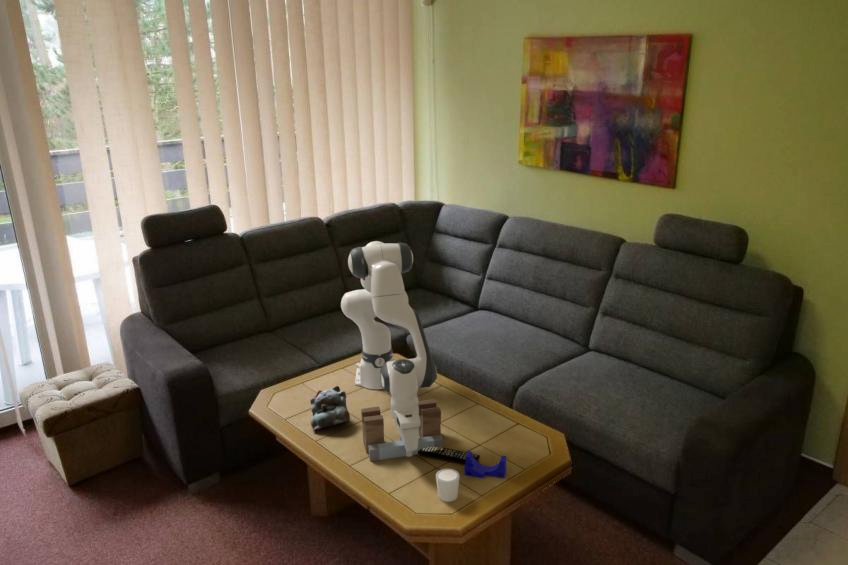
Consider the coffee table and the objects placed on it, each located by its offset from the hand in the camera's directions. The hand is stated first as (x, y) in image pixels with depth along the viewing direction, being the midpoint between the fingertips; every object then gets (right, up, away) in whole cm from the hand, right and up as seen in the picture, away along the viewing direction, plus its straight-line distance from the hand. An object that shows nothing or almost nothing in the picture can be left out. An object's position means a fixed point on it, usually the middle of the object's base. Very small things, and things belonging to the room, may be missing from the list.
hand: (406, 448), depth 210 cm
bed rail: (0, -2, +1) cm, 2 cm away
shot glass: (+13, -9, -21) cm, 26 cm away
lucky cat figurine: (-28, +4, +19) cm, 34 cm away
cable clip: (+25, -5, -11) cm, 27 cm away
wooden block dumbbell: (-2, 0, +7) cm, 7 cm away
